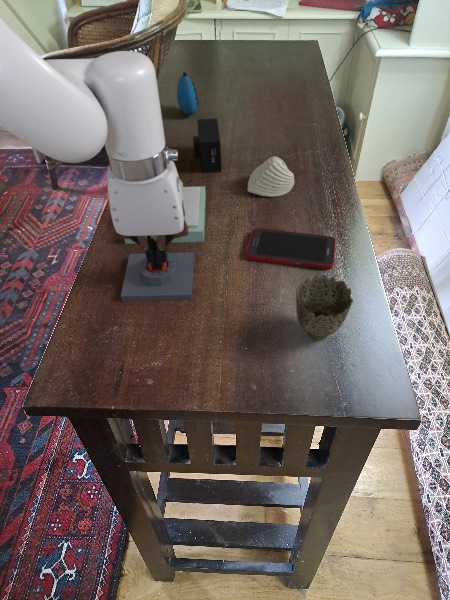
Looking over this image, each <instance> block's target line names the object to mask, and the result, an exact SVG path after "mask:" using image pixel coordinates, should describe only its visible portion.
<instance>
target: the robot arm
mask: <svg viewBox="0 0 450 600" xmlns="http://www.w3.org/2000/svg"><path fill="white" fill-rule="evenodd" d="M160 101H161V100H160V94H159V87H158V79H157V73H156V68H155V65H154V63H153V62H152V60H151V59H150V58H149V56H147V55H145V54H143V53H142V52H138V51H134V50H133V51H131V50H119V51H118V50H117V51H112V52H108V53H105V54H102V55H100V56H98V57H92V58H54V59H53V58H52V59H44V58H43V57H41V56H40V55H39V54H38V53H37V52H36V51H35V50H34V49H32V48H31V47H30V45H28V44H27V43H26V42H25V41H24V40H23V39H22V38H21V37H20V36H18V34H16V33H15V32H14V30H12V28H10V26H8V25H7V24H6V23H5V21H4V20H3V19H2V18H1V17H0V127H1V128H2V129H3V130H5V131H6V132H8V133H10V134H11V135H12V136H14V137H16V138H18V139H19V140H21V141H22V142H24V143H25V144H27V145H28V146H30V147H32V148H33V149H35V150H36V151H38V152H40V153H41V154H43V155H44V156H47V157H48V158H50V159H52V160H55V161H59V162H62V163H68V164H79V163H84V162H87V161H89V160H91V159H93V158H94V157H96V156H97V155H98V154H99V153H100V152H101V151H102V149H103V148H105V151H106V156H107V161H108V164H109V165H108V166H107V169H106V170H107V171H106V183H107V184H106V185H107V196H108V197H107V198H108V204H109V210H110V211H109V212H110V216H111V221H112V224H113V227H114V228H113V229H114V230H115V236H116V238H117V239H118V238H119V239H123V240H124V239H131V240H132V241H134V242H135V243H134V244H137V245H138V246H140V248H141V250H142V251H144V253H146V258H147V262H148V263H151V267H152V270H156V269H157V268H158V269H159V270H163V263H164V262H167V253H168V252H167V251H168V250H167V246H168V245H169V244H170V242H171V241H172V240H173V239H174V238H179V237H183V236H187V235H188V226H187V224H186V221H185V219H184V217H185V204H184V199H183V193H182V188H181V184H180V180H181V179H180V176H179V172H178V170H177V167H176V164H175V162H174V161H179V150H178V149H172V148H169V147H170V146H168V143H167V141H166V138H165V130H164V122H163V116H162V108H161V102H160ZM179 179H180V180H179ZM151 235H157V239H156V241H155V240H154V238H151Z"/></svg>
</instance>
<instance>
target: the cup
mask: <svg viewBox="0 0 450 600" xmlns="http://www.w3.org/2000/svg"><path fill="white" fill-rule="evenodd" d="M351 295H352V289H351V288H350V287H349V288H348V285H347V283H346V282H345V281H344V280H339V281H337V280H336V278H335V276H331V277H330V278H329V279H328V277H327V275H320V276H319V275H318V274H316V275H315V277H313V278H312V279H310V278H309V277H307V278H306V280H305V282H304V281H301V282H300V281H299V284H298V286H297V288H296V289H295V296H296V297H295V300H296V302H295V304H296V305H295V306H296V316H297V320H298V323H299V325H300V326H301V328H302V329H303V330H304V331H305V332H306V335H307V336H309V338H311V339H313V340H316V341H322V340H325V339H327V338H328V337H329V336H331V335H333V334H335V333H336V332H338V330H340V328H341V327H342V326H343V324H344V322H345V320H346V318H347V316H348V314H349V311H350V310H351V307H352V305H353V303H354V299H352V297H351Z"/></svg>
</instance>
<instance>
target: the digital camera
mask: <svg viewBox="0 0 450 600" xmlns="http://www.w3.org/2000/svg"><path fill="white" fill-rule="evenodd" d="M196 122H197V133H198V135H193V136H192V147H193V158H194V159H200V160H199V161H200V170H201V171H200V172H201V173H202V174H204V173H222V153H221V151H222V150H221V137H220V129H219V121H218V118H217V117H214V118H198V119H197V121H196Z"/></svg>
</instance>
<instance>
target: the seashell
mask: <svg viewBox="0 0 450 600" xmlns="http://www.w3.org/2000/svg"><path fill="white" fill-rule="evenodd" d="M294 185H295V175H294V173H293V172H292V171H290V169H289V168H288V166H287V164H286V163H285V161H284V160H282V159H281V158H280V157H278V156H274V155H273V156H272V157H269V158H267V159H266V160H264V161H263V163H262V164H260V165H259V166H257V167H256V168H255V169H254V170H253V171H252V173H251V174H250V176H249V178H248V181H247V192H248V193H251V194H253V195H258V196H261V197H269V198H275V197H276V198H277V197H281V196H284V195H286V194H288V193H289V192H291V190H292V189H293V188H294Z"/></svg>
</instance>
